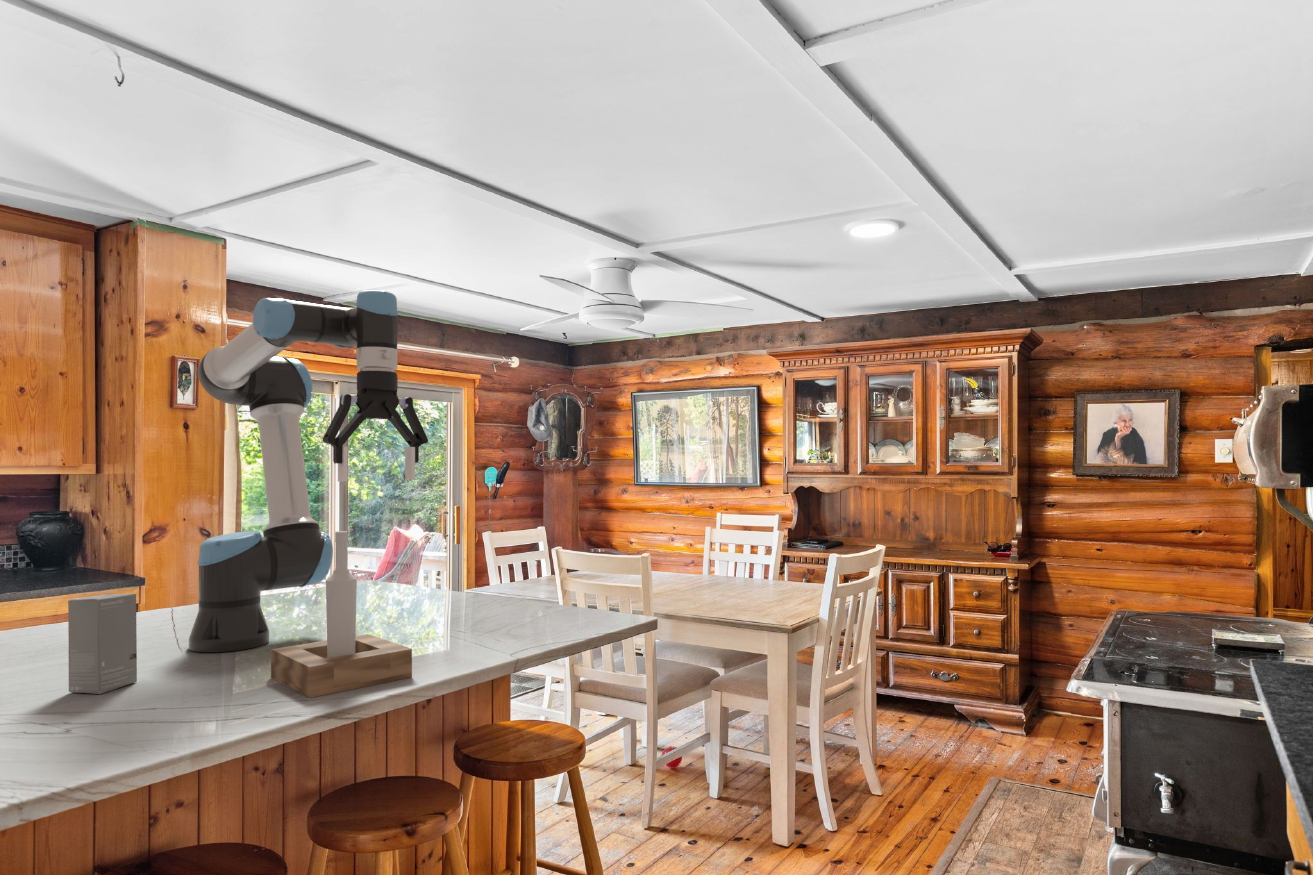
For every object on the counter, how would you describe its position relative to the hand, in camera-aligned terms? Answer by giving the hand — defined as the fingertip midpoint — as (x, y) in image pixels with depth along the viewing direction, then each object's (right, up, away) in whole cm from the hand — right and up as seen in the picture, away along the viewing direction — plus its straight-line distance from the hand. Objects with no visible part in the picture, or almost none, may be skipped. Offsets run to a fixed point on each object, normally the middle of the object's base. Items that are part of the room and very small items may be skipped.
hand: (377, 480), depth 161 cm
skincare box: (-41, -35, -18) cm, 57 cm away
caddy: (-2, -34, -13) cm, 37 cm away
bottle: (-2, -34, -13) cm, 36 cm away
